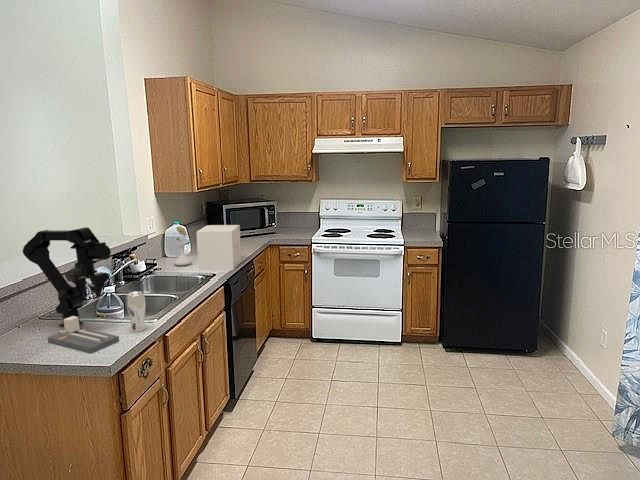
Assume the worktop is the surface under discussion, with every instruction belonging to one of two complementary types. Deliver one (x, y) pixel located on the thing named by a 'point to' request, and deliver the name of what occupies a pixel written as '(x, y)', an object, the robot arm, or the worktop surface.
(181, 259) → the flower in vase
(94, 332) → the fader console
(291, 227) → the worktop surface
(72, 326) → the fader knob
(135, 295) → the beer glass
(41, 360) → the worktop surface
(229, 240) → the cube
